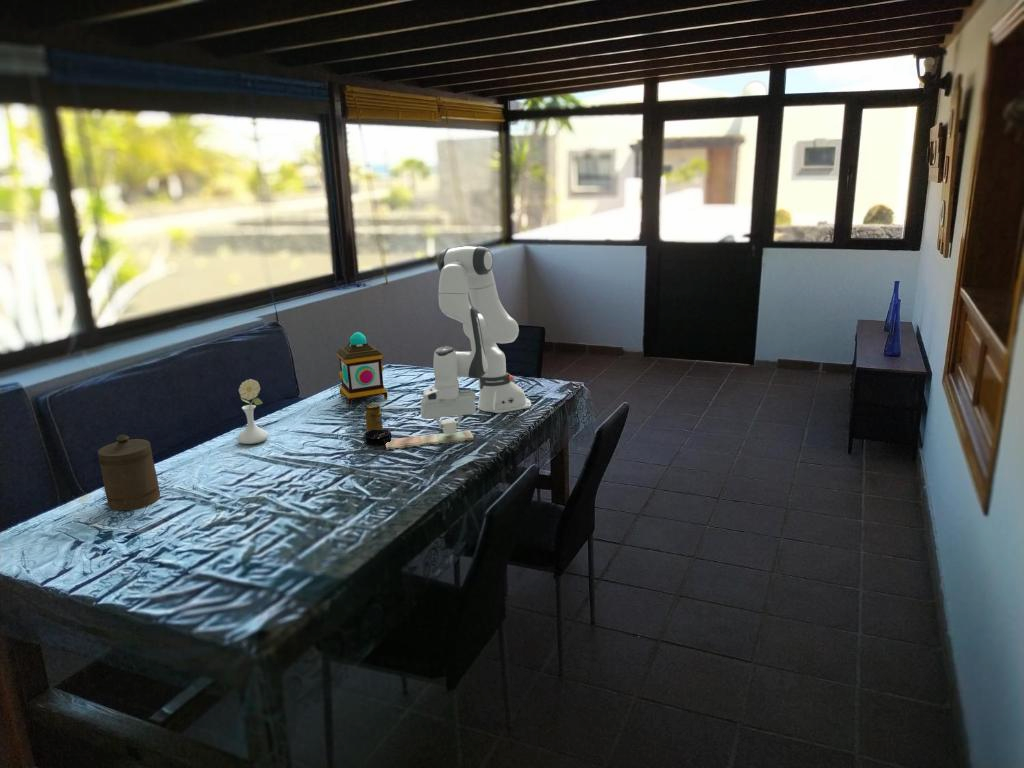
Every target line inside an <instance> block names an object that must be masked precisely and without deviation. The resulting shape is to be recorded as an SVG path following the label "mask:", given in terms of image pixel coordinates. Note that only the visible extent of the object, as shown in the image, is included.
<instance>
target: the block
mask: <svg viewBox="0 0 1024 768" xmlns="http://www.w3.org/2000/svg"><path fill="white" fill-rule="evenodd" d="M455 421H456V420H455V418H450V419H449V418H448V419H442V422H441V423H443V425H444V426H443V427H444V428H442V431H443V433H444V434H451V433H457V432H458V431H457V427H456V422H455Z"/></svg>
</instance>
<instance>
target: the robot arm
mask: <svg viewBox="0 0 1024 768" xmlns="http://www.w3.org/2000/svg"><path fill="white" fill-rule="evenodd" d="M436 264H437V269H438V271H439V272H440V275H439V282H438V306H439V307H438V308H439V309H440V311H441V313H443V314H444V315H445V316H446V317H448V318H450V319H453V320H455V321H457V322H459V323H461V324H462V330H463V333H464V335H465V336H466V337H467V338H468V339H469V341H470V348H471V351H458V350H456V349H455V348H454V347H452V346H440V347H437V348H436V349H435V350H434V353H433V360H432V361H433V367H432V368H433V375H434V378H435V379H434V386H432V387H429V388H427V389H424V390H423V392H422V399H421V401H420V417H421V418H422V419H424V420H427V419H428V420H430V419H435V421H436V422H437V423H438V427H439V429H440V430H441V429H443V428H444V427H443V426H444V425H443V423H442V422H441V421H440V420H441V418H448V417H457V419H456V420H455V422H456V428H457V427H458V428H459V427H460V426H461V425H460V422H461V420H462V419H463V416H465V415H466V416H467V415H474V414H475V413H476V411H477V409H478V410H480V411H482V412H483V411H484V412H490V413H491V412H492V413H495V414H502V413H506V412H513V411H519V410H524V409H528V408H529V409H530V408H532V402H531V400H530V399H529V398H527V397H526V395H525V392H524V391H525V390H524V389H523V388H522V387H521V386H519V385H517V384H516V383H515V382H513V381H514V379H515V377H514V376H513V375H511V374H510V373H509V372H507V368H506V367H507V364H506V363H507V362H506V361H507V360H506V356H505V353H504V351H502V350H501V349H500V348H499V346H498V345H497V344H509V343H513V342H515V341H516V339H517V338H518V336H519V332H520V329H519V324H518V322H517V321H516V320H515V319H514V318H513V317H512V316H510V314H508V312H507V311H506V309H505V308H504V306H503V305H502V302H501V300H500V297H499V293H498V289H497V284H496V280H495V276H494V273H493V264H494V256H493V254H492V252H491V251H490V249H489V248H487V247H484V246H479V245H478V246H462V247H461V246H460V247H453V248H452V247H451V248H450V247H448V248H444V249H443V250H440V252H439V253H438V256H437V259H436ZM458 378H469V379H475V380H478V388H479V397H478V403H477V407H476V403H475V402H476V401H475V400H476V396H477V395H476V392H475V391H474V390H472V389H471V388H470V389H460V385H459V379H458Z"/></svg>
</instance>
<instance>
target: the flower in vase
mask: <svg viewBox="0 0 1024 768" xmlns="http://www.w3.org/2000/svg"><path fill="white" fill-rule="evenodd" d="M260 386H261V385H260V384H259V382H258V380H255V379H252V378H249V379H246V380H245V381H243V382H241V384H240V385H239V388H238V392H239V395H240V399H241V401H242V402H245V403H247V405H243V406H242V407H241V409H242V410H243V412H244V413H245V416H246V421H247V425H246V427H245V428H244V430H242V431H241V432H240V433H239V435H238V436H237V438H236V439H237V441H238V443H240V444H245V445H253V444H258V443H261V442H264V441H265V440H267V439H268V438H269V435H270V434H269V433H268V432H267V431H266V430H264V429H263V428H261V427H259V426H257V425H256V423H255V420H254V410H255V409H256V407H257V406H259V405H262V404H264V403H263V402H262V400H261V399H260V398H259V397H258V395H259V393H260V391H261V387H260ZM251 400H252V401H251ZM250 401H251V402H250ZM253 403H254V404H253Z"/></svg>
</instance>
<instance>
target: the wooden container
mask: <svg viewBox="0 0 1024 768" xmlns="http://www.w3.org/2000/svg"><path fill="white" fill-rule="evenodd" d="M151 446H152V445H151V442H150V441H149V440H146V439H142V438H136V439H135V438H134V439H132V438H131V439H130V436H128V435H126V434H120V435H118V436H117V437H116V441H115V442H112V443H109V444H107V445H105V446H103V447H101V448H100V449H98V451H97V455H98V461H99V465H100V470H101V471H100V472H101V475H102V476H101V477H102V482H103V487H104V492H105V496H106V501H107V506H108V508H109V509H111V510H112V511H113V510H114V511H119V512H120V511H121V510H122V511H123V512H124V510H126V511H133V510H137V509H141V507H142V508H145V507H147V506H149V504H150V505H151V503H152V504H154V503H155V502H157V501H158V500H159V499H160V497H161V491H160V487H159V481H158V475H157V470H156V467H155V462H154V458H153V457H154V456H153V452H152V447H151ZM156 500H157V501H156ZM153 502H154V503H153ZM144 506H145V507H144Z"/></svg>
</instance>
